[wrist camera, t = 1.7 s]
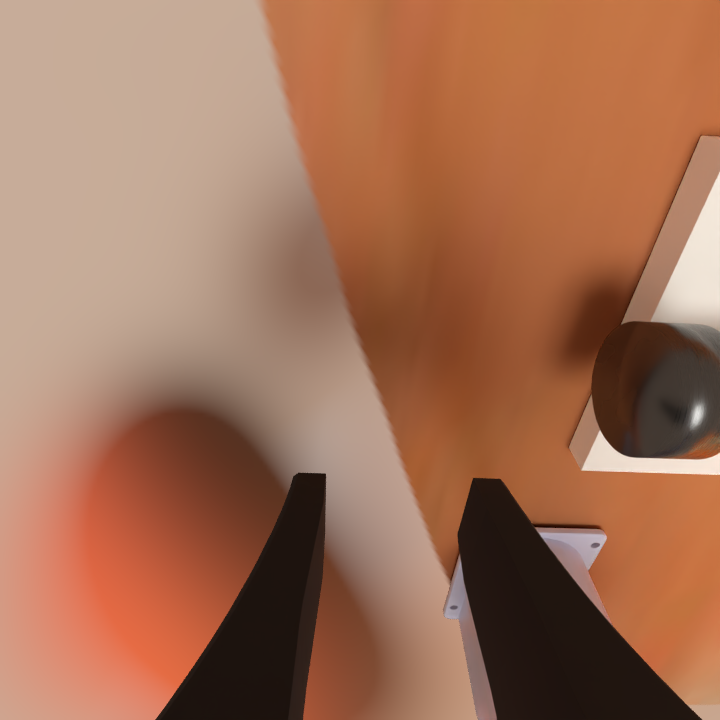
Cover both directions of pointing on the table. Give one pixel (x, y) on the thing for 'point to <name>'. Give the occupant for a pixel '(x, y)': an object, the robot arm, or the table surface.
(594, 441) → the shaft stand
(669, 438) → the shaft
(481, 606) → the robot arm
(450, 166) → the table surface
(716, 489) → the table surface
